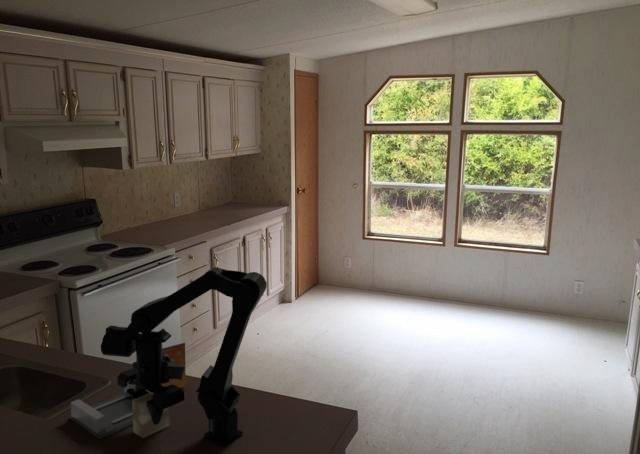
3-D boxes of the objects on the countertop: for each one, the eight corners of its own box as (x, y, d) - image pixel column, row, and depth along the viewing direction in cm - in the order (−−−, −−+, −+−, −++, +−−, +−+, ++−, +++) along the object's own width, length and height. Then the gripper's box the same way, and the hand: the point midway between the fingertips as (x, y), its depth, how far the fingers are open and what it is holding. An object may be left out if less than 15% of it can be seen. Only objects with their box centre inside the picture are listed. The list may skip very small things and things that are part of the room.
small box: (159, 396, 135) (157, 349, 133) (148, 387, 139) (147, 342, 137) (186, 386, 140) (185, 342, 139) (175, 379, 145) (174, 335, 143)
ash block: (169, 425, 121) (168, 394, 119) (143, 438, 115) (142, 405, 114) (159, 420, 123) (158, 389, 122) (133, 432, 118) (132, 399, 116)
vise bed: (162, 411, 127) (162, 394, 127) (99, 439, 114) (98, 420, 114) (131, 393, 136) (130, 377, 135) (69, 418, 123) (68, 400, 122)
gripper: (203, 357, 117) (204, 420, 119) (156, 338, 128) (157, 395, 131) (162, 373, 108) (163, 441, 111) (115, 351, 120) (117, 412, 122)
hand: (151, 420), depth 119 cm, fingers closed on ash block, 4 cm apart
